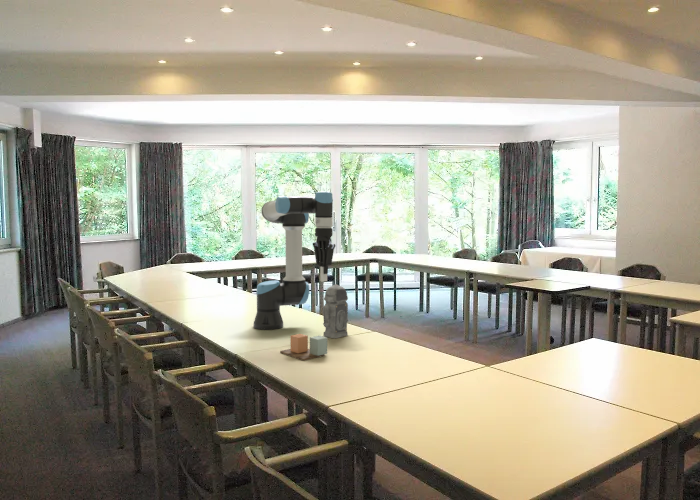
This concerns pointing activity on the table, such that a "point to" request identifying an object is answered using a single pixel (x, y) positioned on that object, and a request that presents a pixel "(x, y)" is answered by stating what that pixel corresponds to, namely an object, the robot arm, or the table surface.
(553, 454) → the table surface
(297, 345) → the orange block
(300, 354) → the stand
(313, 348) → the pale blue-grey block
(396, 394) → the table surface
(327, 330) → the figurine
